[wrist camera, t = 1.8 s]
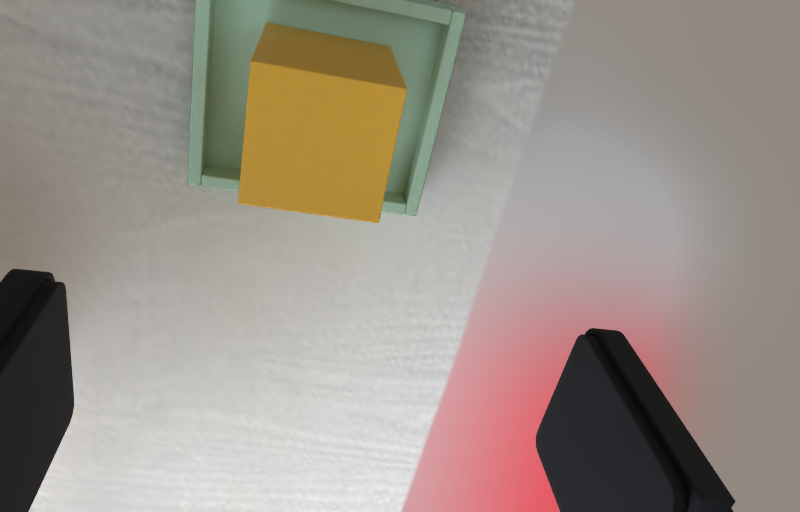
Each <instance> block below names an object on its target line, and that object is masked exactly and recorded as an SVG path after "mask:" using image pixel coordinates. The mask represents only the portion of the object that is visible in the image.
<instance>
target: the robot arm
mask: <svg viewBox="0 0 800 512" xmlns="http://www.w3.org/2000/svg"><path fill="white" fill-rule="evenodd" d="M73 408H74V393H73V379H72V366H71V352H70V339H69V325H68V312H67V298H66V288H65V285H64V283H62V282H55V280H54V277H53V274H52V273H50V272H41V271H32V270H22V269H12V270H10V271H9V272H8V273H7V275H6V276H5V277H4V278H3V280H2V281H1V282H0V512H28V511H29V509H30V507H31V505H32V503H33V501H34V498H35V496H36V494H37V492H38V490H39V488H40V485H41V483H42V481H43V479H44V477H45V475H46V473H47V470H48V468H49V466H50V464H51V462H52V460H53V458H54V455H55V453H56V451H57V449H58V447H59V445H60V443H61V440H62V438H63V436H64V434H65V432H66V430H67V427H68V425H69V423H70V421H71V417H72V414H73ZM536 448H537V451H538V454H539V457H540V459H541V462H542V465H543V467H544V470H545V473H546V475H547V478H548V480H549V483H550V486H551V488H552V491H553V494H554V496H555V499H556V501H557V504H558V506H559V509H560V512H733V510H732V509H731V507H732V506H733V504H734V503H735V500H734V499H733V497H732V496H731V494H730V493H729V491H728V490H727V488H726V487H725V485H724V484H723V482H722V481H721V479H720V478H719V476H718V475H717V473H716V472H715V470H714V469H713V467H712V466H711V465H710V463H709V461H708V460H707V458H706V457H705V456H704V454H703V452H702V451H701V450H700V448H699V446H698V445H697V443H696V442H695V440H694V439H693V438H692V436H691V435H690V433H689V432H688V430H687V429H686V427H685V426H684V424H683V423H682V421H681V420H680V418H679V417H678V415H677V414H676V412H675V411H674V409H673V408H672V406H671V405H670V403H669V402H668V400H667V399H666V397H665V396H664V394H663V393H662V391H661V390H660V388H659V387H658V385H657V384H656V382H655V381H654V379H653V378H652V376H651V375H650V373H649V372H648V370H647V369H646V367H645V366H644V364H643V363H642V361H641V360H640V359H639V357H638V355H637V354H636V352H635V351H634V349H633V348H632V346H631V345H630V344H629V342H628V340H627V339H626V338H625V336H624V335H623V334H622V333H621V332H619V331H615V330H605V329H594V328H592V329H589V330H588V331H587V332H586V333H585V335H580V336H579V337H578V338H577V340H576V342H575V344H574V347H573V349H572V351H571V354H570V356H569V358H568V360H567V363H566V365H565V367H564V370H563V372H562V375H561V377H560V380H559V382H558V384H557V386H556V389H555V391H554V394H553V396H552V398H551V400H550V403H549V405H548V408H547V410H546V412H545V415H544V417H543V419H542V422H541V424H540V427H539V429H538V432H537V435H536Z"/></svg>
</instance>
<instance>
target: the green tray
mask: <svg viewBox="0 0 800 512" xmlns="http://www.w3.org/2000/svg"><path fill="white" fill-rule="evenodd" d="M465 17H466V13H465V12H463V11H462V10H461V9H460V8H459V7H458V6H455V5H450V4H446V3H441V2H436V1H431V0H196V1H195V24H194V46H193V69H192V91H191V114H190V137H189V159H188V182H187V183H188V184H190V185H197V186H200V185H201V186H205V187H212V188H219V189H226V190H233V191H239V185H240V173H241V162H242V151H243V140H244V129H245V117H246V106H247V95H248V84H249V73H250V62H251V59H252V57H253V54H254V52H255V49H256V46H257V44H258V41H259V39H260V36H261V34H262V31H263V29H264V26H265V24H266V22H269V23H274V24H279V25H284V26H289V27H294V28H299V29H305V30H310V31H315V32H320V33H325V34H330V35H336V36H341V37H346V38H351V39H356V40H361V41H366V42H372V43H377V44H382V45H387V46H390V47H391V50H392V52H393V55H394V57H395V60H396V62H397V65H398V67H399V70H400V72H401V75H402V77H403V80H404V82H405V85H406V87H407V94H406V99H405V104H404V108H403V113H402V117H401V122H400V127H399V131H398V136H397V141H396V145H395V150H394V154H393V159H392V164H391V168H390V173H389V178H388V182H387V187H386V191H385V196H384V201H383V205H382V210H381V211H382V212H389V213H396V214H404V213H405V215H410V216H416V214H417V210H418V206H419V202H420V198H421V194H422V190H423V186H424V182H425V178H426V174H427V170H428V166H429V162H430V158H431V154H432V150H433V146H434V142H435V138H436V134H437V130H438V126H439V122H440V118H441V114H442V110H443V106H444V102H445V97H446V93H447V89H448V85H449V81H450V77H451V73H452V69H453V65H454V61H455V57H456V53H457V49H458V45H459V41H460V37H461V33H462V29H463V25H464V21H465Z"/></svg>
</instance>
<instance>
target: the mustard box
mask: <svg viewBox="0 0 800 512" xmlns="http://www.w3.org/2000/svg"><path fill="white" fill-rule="evenodd" d="M406 94H407V87H406V85H405V82H404V80H403V77H402V75H401V72H400V70H399V67H398V65H397V62H396V60H395V57H394V55H393V52H392V50H391V47H390V46H387V45H382V44H377V43H372V42H366V41H361V40H356V39H351V38H346V37H341V36H336V35H330V34H325V33H320V32H315V31H310V30H305V29H299V28H294V27H289V26H284V25H279V24H274V23H269V22H266V24H265V26H264V29H263V31H262V34H261V36H260V39H259V41H258V44H257V46H256V49H255V52H254V54H253V57H252V59H251V62H250V73H249V84H248V95H247V106H246V117H245V129H244V140H243V151H242V162H241V173H240V185H239V196H238V204H243V205H250V206H257V207H264V208H272V209H279V210H286V211H294V212H301V213H308V214H316V215H323V216H330V217H337V218H345V219H352V220H359V221H367V222H374V223H378V222H379V219H380V215H381V210H382V205H383V201H384V196H385V191H386V187H387V182H388V178H389V173H390V168H391V164H392V159H393V154H394V150H395V145H396V141H397V136H398V131H399V127H400V122H401V117H402V113H403V108H404V104H405V99H406Z"/></svg>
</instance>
